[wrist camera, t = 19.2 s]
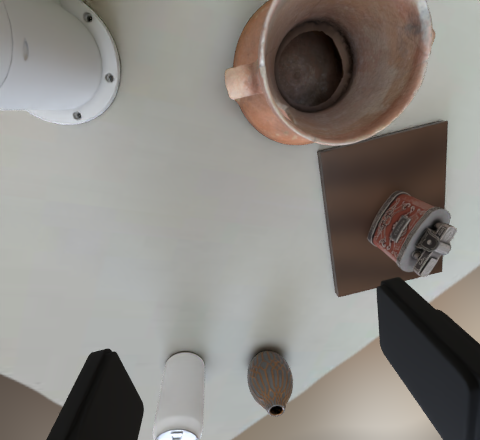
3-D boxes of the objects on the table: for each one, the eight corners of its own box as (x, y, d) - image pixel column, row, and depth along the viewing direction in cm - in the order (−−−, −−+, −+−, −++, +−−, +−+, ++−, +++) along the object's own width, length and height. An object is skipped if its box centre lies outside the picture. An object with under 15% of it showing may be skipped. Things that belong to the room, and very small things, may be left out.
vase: (294, 356, 49) (311, 406, 40) (266, 381, 50) (276, 434, 42) (265, 336, 46) (276, 385, 38) (236, 363, 48) (241, 415, 40)
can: (165, 380, 48) (150, 462, 37) (164, 350, 46) (149, 428, 35) (204, 380, 49) (201, 460, 38) (206, 350, 46) (203, 426, 35)
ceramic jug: (234, 154, 36) (246, 181, 22) (207, 17, 30) (202, -53, 17) (376, 125, 36) (471, 134, 23) (374, -17, 31) (497, -112, 17)
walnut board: (317, 151, 36) (320, 152, 35) (440, 120, 36) (447, 121, 35) (335, 292, 45) (338, 297, 43) (436, 267, 44) (442, 271, 43)
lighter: (392, 186, 38) (451, 212, 28) (413, 195, 38) (477, 223, 29) (362, 240, 40) (407, 279, 31) (382, 247, 41) (432, 287, 32)
